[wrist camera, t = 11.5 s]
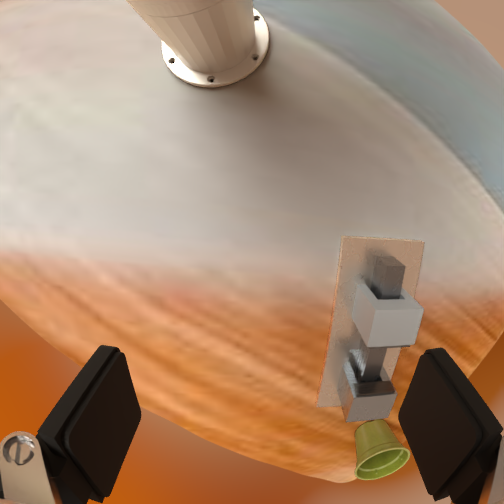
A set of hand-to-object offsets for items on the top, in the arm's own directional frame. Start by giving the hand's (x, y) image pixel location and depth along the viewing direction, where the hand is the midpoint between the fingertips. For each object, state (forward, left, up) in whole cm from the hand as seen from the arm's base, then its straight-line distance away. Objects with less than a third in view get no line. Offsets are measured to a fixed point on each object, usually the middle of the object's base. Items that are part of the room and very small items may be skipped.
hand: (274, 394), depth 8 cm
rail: (+14, +14, -28) cm, 34 cm away
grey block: (+9, +14, -27) cm, 31 cm away
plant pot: (+35, +20, -28) cm, 49 cm away
